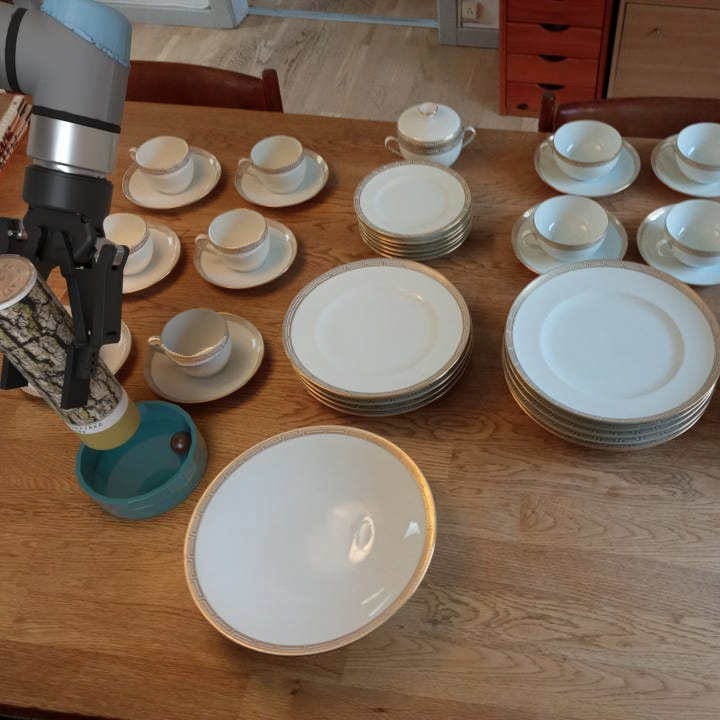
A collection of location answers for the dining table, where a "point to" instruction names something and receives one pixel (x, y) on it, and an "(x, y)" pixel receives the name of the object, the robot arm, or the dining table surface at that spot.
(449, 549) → the dining table surface
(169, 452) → the bowl
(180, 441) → the bead
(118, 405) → the paper tube
